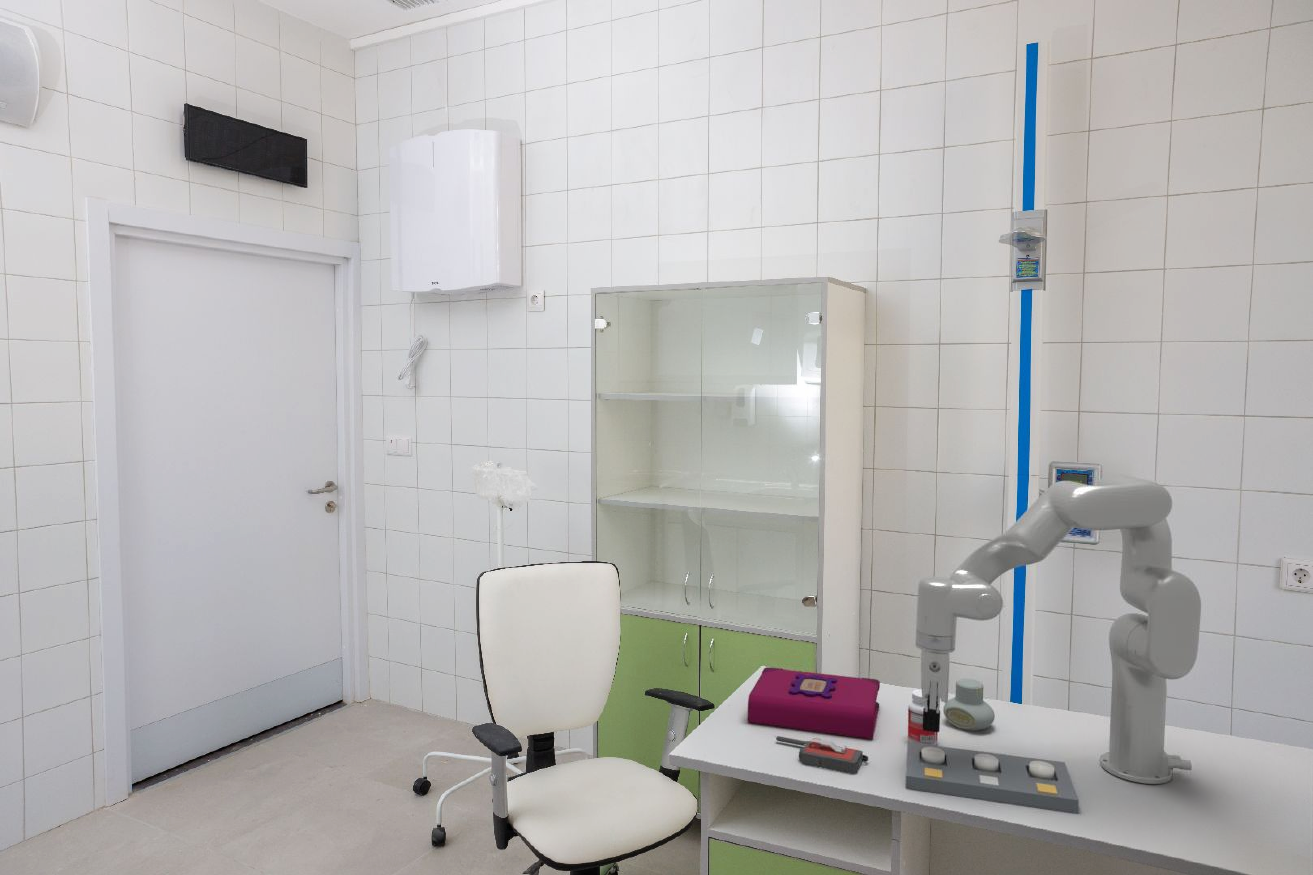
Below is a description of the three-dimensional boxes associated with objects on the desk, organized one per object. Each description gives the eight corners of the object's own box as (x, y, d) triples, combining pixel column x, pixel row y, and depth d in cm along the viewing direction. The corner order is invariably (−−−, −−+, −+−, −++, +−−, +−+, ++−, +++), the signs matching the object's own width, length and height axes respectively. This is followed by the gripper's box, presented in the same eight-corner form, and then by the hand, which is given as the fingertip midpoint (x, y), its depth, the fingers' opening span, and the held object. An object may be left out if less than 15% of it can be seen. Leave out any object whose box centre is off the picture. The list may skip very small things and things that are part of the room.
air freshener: (937, 723, 191) (938, 680, 191) (954, 713, 197) (956, 672, 196) (982, 738, 183) (984, 693, 183) (1000, 727, 189) (1001, 684, 188)
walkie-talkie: (870, 760, 173) (777, 742, 182) (871, 739, 173) (778, 722, 182) (861, 778, 165) (765, 758, 174) (862, 756, 165) (765, 737, 174)
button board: (1064, 774, 167) (1064, 760, 166) (1078, 813, 151) (1078, 798, 151) (907, 753, 176) (907, 740, 175) (905, 788, 160) (906, 774, 160)
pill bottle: (918, 734, 185) (919, 685, 185) (942, 743, 181) (944, 693, 180) (901, 741, 181) (902, 692, 181) (926, 751, 177) (928, 700, 176)
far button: (944, 757, 169) (944, 748, 169) (944, 766, 165) (945, 757, 165) (921, 754, 171) (921, 745, 170) (921, 763, 166) (921, 754, 166)
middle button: (997, 764, 166) (997, 755, 166) (999, 773, 162) (999, 764, 162) (973, 761, 168) (973, 752, 167) (974, 770, 163) (975, 761, 163)
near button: (1052, 771, 163) (1052, 762, 163) (1055, 781, 159) (1056, 772, 159) (1027, 768, 165) (1028, 759, 164) (1030, 778, 160) (1030, 769, 160)
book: (873, 743, 182) (874, 709, 181) (746, 726, 190) (747, 693, 190) (879, 707, 201) (880, 677, 201) (764, 693, 210) (765, 664, 210)
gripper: (956, 653, 158) (951, 747, 159) (954, 632, 172) (949, 718, 173) (915, 648, 160) (910, 741, 161) (916, 627, 174) (911, 713, 176)
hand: (930, 729), depth 167 cm, fingers closed
